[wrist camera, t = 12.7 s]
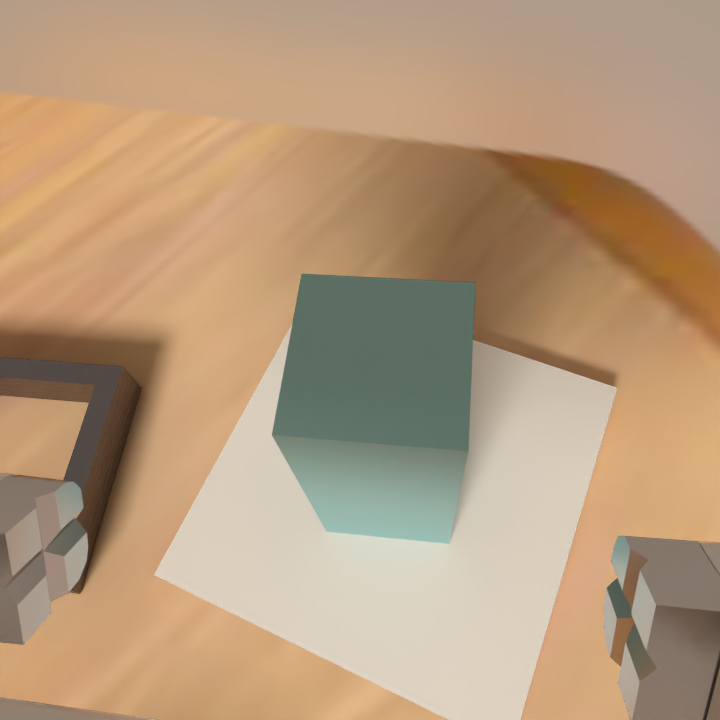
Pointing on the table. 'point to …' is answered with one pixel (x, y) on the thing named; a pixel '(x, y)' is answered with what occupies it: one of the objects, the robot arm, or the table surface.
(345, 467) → the teal block
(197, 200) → the table surface
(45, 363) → the metal cradle
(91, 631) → the table surface
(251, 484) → the white mat
